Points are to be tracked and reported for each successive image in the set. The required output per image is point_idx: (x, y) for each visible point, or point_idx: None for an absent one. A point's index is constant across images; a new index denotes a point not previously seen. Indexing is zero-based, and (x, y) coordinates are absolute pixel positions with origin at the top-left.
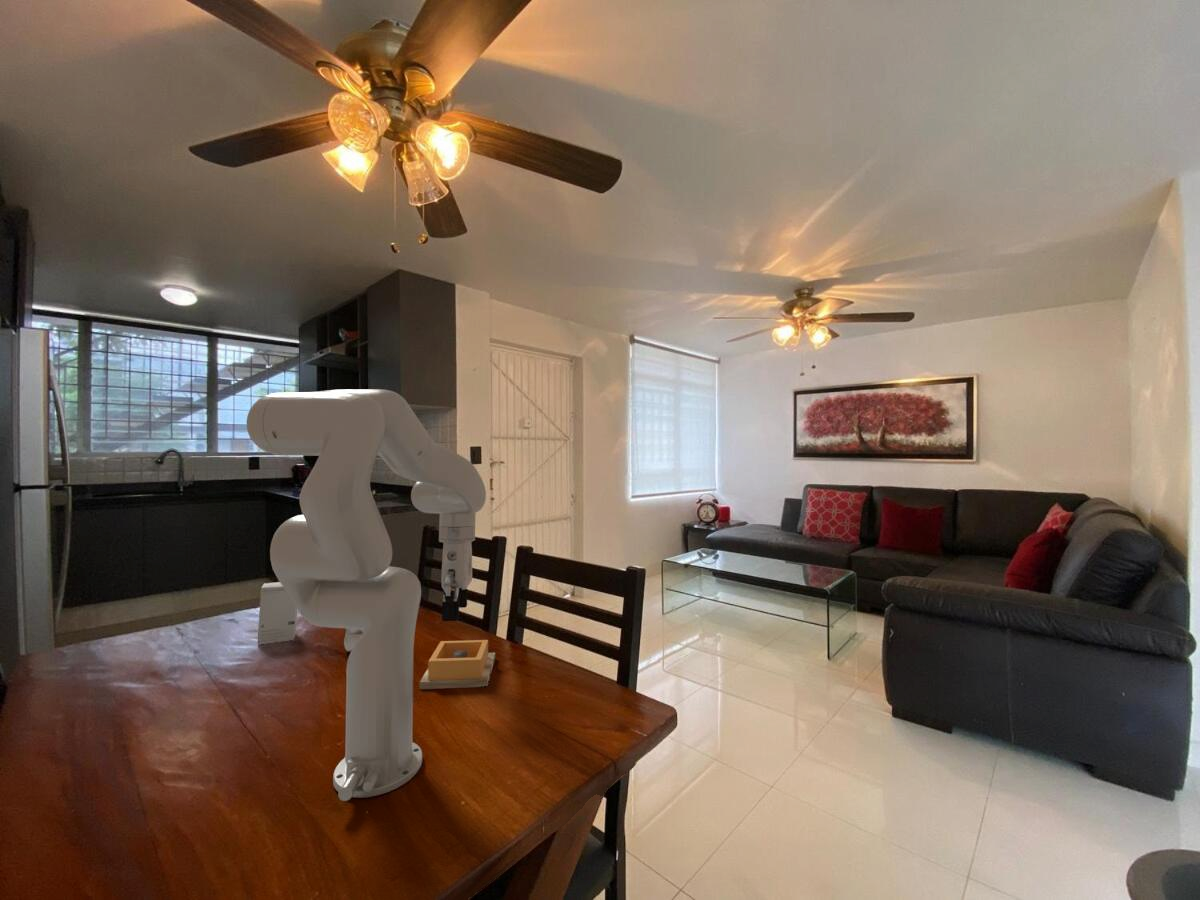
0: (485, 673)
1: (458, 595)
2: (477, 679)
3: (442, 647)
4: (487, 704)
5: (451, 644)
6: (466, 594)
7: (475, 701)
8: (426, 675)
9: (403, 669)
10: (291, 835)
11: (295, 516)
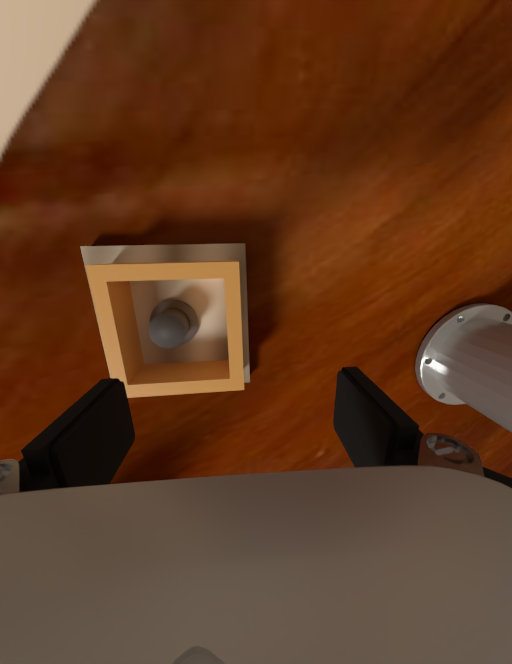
0: (213, 252)
1: (95, 465)
2: (244, 267)
3: (156, 382)
4: (319, 230)
5: (126, 366)
6: (68, 423)
7: (304, 258)
8: None
9: None
10: None
11: None
